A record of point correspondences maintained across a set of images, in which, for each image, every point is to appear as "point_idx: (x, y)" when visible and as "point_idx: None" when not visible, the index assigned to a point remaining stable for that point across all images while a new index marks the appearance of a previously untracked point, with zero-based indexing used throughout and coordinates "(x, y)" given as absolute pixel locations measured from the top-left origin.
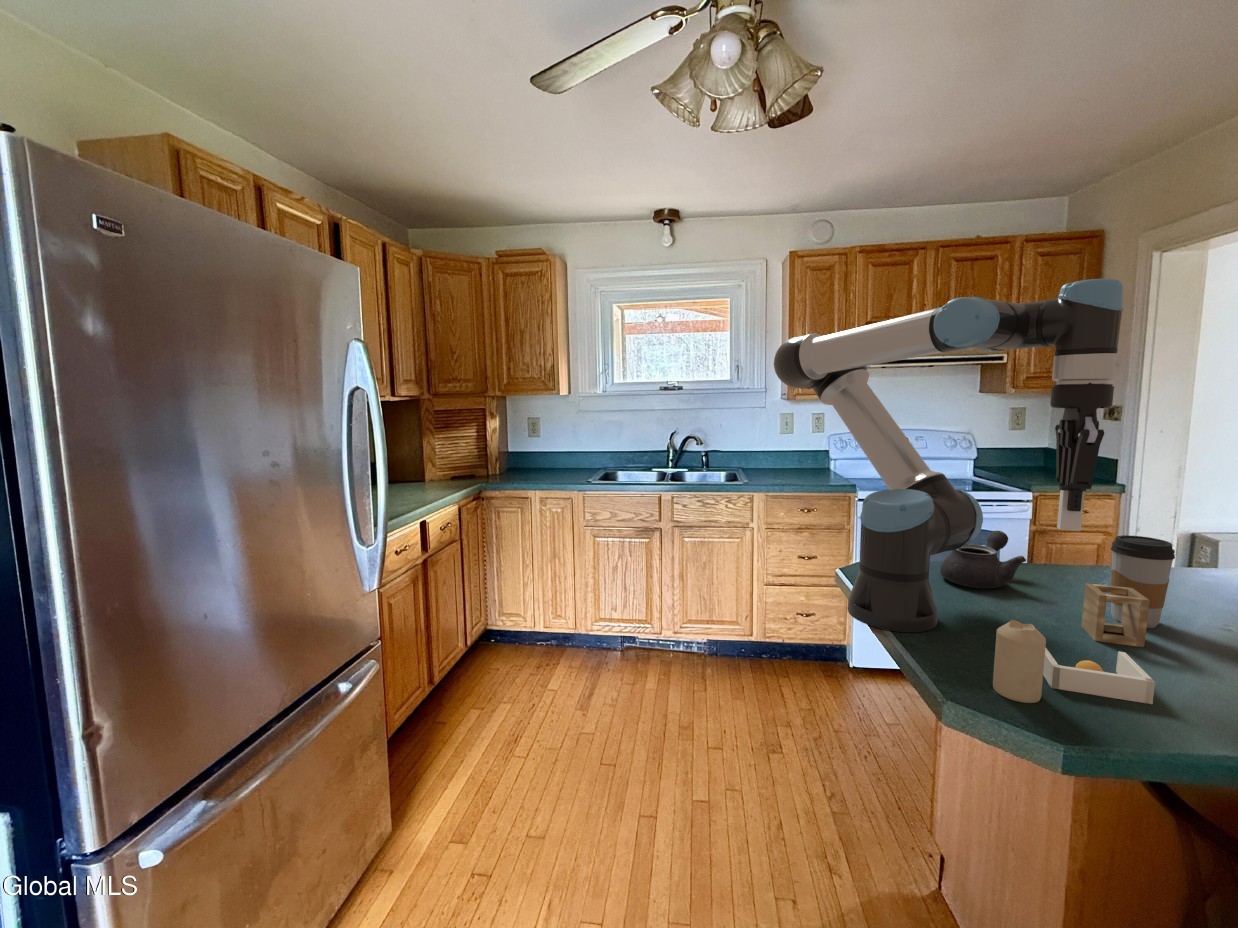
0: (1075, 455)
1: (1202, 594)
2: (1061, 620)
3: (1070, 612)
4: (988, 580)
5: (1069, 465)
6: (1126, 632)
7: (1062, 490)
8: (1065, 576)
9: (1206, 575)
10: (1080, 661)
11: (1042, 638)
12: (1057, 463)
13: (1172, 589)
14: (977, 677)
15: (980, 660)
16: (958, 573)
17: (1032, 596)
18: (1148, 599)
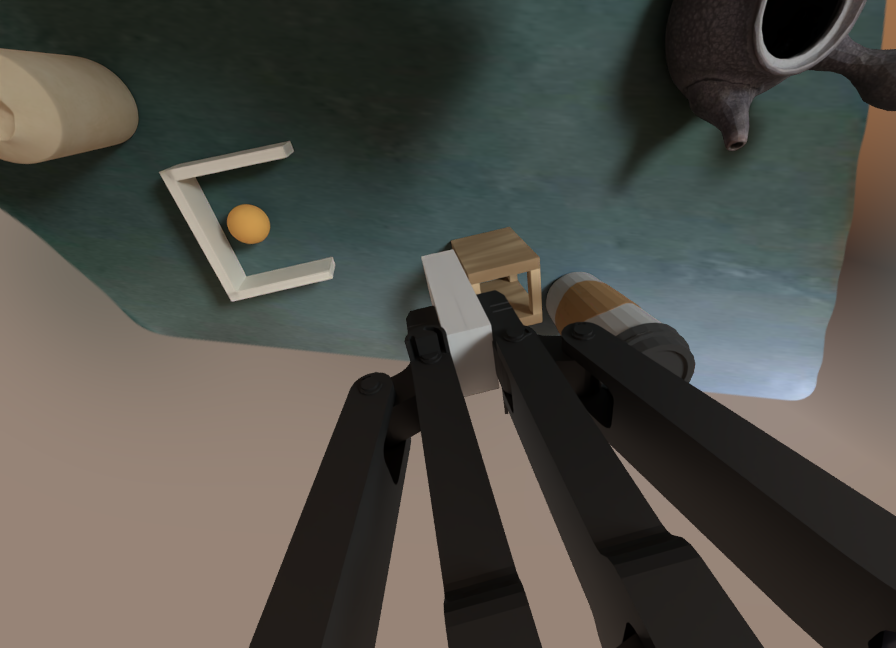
0: (322, 575)
1: (711, 372)
2: (527, 199)
3: (577, 215)
4: (676, 57)
5: (430, 458)
6: (495, 283)
7: (459, 330)
8: (781, 220)
9: (793, 383)
10: (246, 215)
11: (3, 156)
12: (656, 385)
13: (728, 347)
14: (95, 23)
15: (199, 32)
16: None
17: (649, 156)
18: (560, 329)
